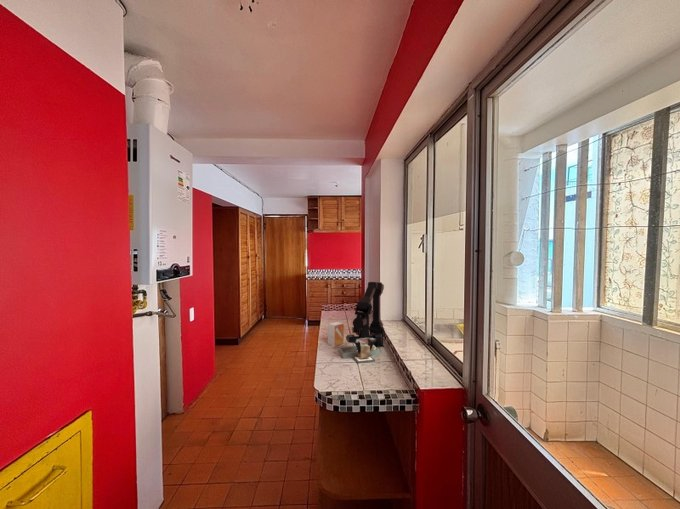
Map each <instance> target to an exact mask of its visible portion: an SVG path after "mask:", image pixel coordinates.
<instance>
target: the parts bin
mask: <svg viewBox="0 0 680 509" xmlns="http://www.w3.org/2000/svg"><path fill="white" fill-rule="evenodd" d="M337 352H338V355H340V356H341V357H342V358H345V357H346V358H353V357H356V356H358V350H357V347H356V345H350V346H349V345H348V346H339V347H337ZM375 355H380V349H379V347H376V350H370V356H375Z"/></svg>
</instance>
